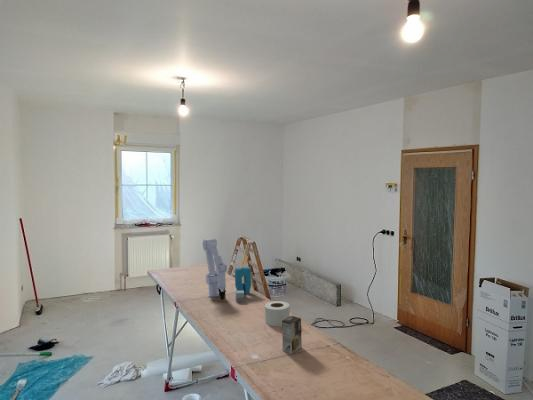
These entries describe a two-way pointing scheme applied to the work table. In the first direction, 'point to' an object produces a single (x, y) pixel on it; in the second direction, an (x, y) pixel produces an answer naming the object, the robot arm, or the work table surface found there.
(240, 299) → the tower base
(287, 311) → the roll of tape
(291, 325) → the coffee box
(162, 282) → the work table surface
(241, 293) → the tower middle
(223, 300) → the walnut cube
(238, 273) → the block
